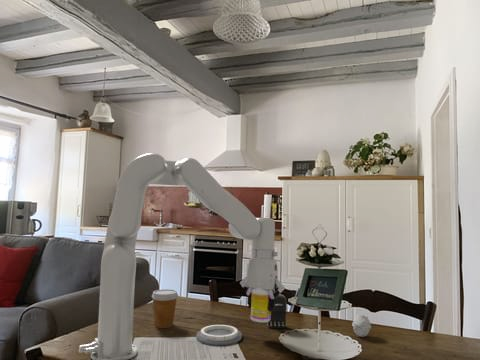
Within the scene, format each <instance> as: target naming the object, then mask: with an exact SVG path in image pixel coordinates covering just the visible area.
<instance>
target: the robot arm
mask: <svg viewBox="0 0 480 360" xmlns="http://www.w3.org/2000/svg"><path fill="white" fill-rule="evenodd" d="M149 185H161V186H175V187H177V186H179V187H180V186H181V187H182V186H184V187H186V188H187V190H188V191H189V192H191V194H193V196H194V197H195V198H197V200H198V201H199V202H200V203H201V204H202V205H203V206H204V207H205V208H207V209H208V210H209V211H211V212H213V213H215V214H216V215H219V216H220V217H222V218H223V219H224V220H225V221H227V223H229V224H228V232H229V233H230V235H231V236H233V237H234V238H236V239H240V240H245V241H251V257H250V258H249V259H248V264H247V265H248V266H247V270H246V271H247V272H246V276H245V277H244V278H243V279H242V280H241V281H240V282H239V284H240V285H241V287H242V289H243V291H244V292H245V293H246V295H247V302H246V303H247V308H248V309H251V298H252V289H253V288H259V287H260V288H261V289H264V290H268V292H269V295H270V299H269V311H270V312H271V311H273V310H274V308H275V298H276V297H277V296H278V295H281V293H282V292H283V291H284V290H286V288H285V286H284V284H282V282H281V281H280V280H279V271H278V262H277V259H276V258H275V257H278V256H279V253H278V252H277V251H275V232H276V231H275V230H276V229H275V228H276V222H275V220H274V219H273V218H271V217H256V216H255V215H254V214H253V213H252V212H251V210H250V209H249V208H247V206H245V204H243V202H241V201H240V200H239V199H237V198H236V196H234V195H232V194H231V193H230V192H229V191H228V190H226V189H225V188H224V187H223V185H221V184H220V183H219V182H218V180H216V179H215V178H214V176H213V175H211V173H210V172H209V171H208V170H207V169H206V168H205V167H204V166H203V165H202V164H201V163H200V161H198V160H197V159H195V158H193V157H186V158H184V159H182V160H167V159H165V158H164V157H163V156H162V155H160V154H159V153H155V152H150V153H149V152H148V153H145V154H142V155H139V156H138V157H135V158H134V159H132V160H131V161H130V162H129V163H128V164H127V165H126V166H125V167H124V169H123V170H122V172H121V173H120V177H119V179H118V182H117V185H116V191H115V196H114V199H113V205H112V210H111V213H110V215H109V218H108V222H107V224H108V225H107V228H106V229H107V230H106V234H105V239H104V245H103V251H102V255H101V261H100V281H99V282H100V285H99V286H100V287H99V305H98V307H99V308H98V323H97V325H98V326H97V327H98V328H97V337H95V338H94V341H91V342H90V343H88V344H87V343H84V344H80V345H78V352H79V353H85V354H86V355H87V354H90V358H91V360H129V359H132V358H133V357H135V356H136V355H137V354H138V346H136V345H135V344H133V335H134V334H133V332H134V309H135V308H134V306H135V287H136V285H135V283H136V271H137V255H136V252H135V251H136V245H137V237H138V233H139V230H140V229H141V225H142V214H143V208H144V202H145V198H146V192H147V189H148V188H149ZM259 283H260V284H261V285H258V284H259ZM275 289H277V290H275Z"/></svg>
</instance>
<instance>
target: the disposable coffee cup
mask: <svg viewBox="0 0 480 360" xmlns="http://www.w3.org/2000/svg"><path fill="white" fill-rule="evenodd" d="M178 296H179V294H178V291H177V290H175V289H171V288H169V289H168V288H167V289H157V290H154V291H153V292H152V295H151V299H152V305H153V306H152V307H153V317H154V326H155V328H158V329H168V328H171V327H173V325H174V319H175V313H176V312H175V311H176V306H177V300H178Z"/></svg>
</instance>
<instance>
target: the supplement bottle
mask: <svg viewBox="0 0 480 360" xmlns="http://www.w3.org/2000/svg"><path fill="white" fill-rule="evenodd" d="M258 285H261V284H260V283H259V284H258ZM269 299H270V295H269V292H268V290H264V289H261V288H260V287H259V288H253V289H252V298H251V308H250V320H251V321H252V322H255V323H268V322H269V321H270V319H271V312H270V311H269Z"/></svg>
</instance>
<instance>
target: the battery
mask: <svg viewBox="0 0 480 360" xmlns="http://www.w3.org/2000/svg"><path fill="white" fill-rule="evenodd" d="M287 309H288V308H287V298H286V296H285V295H283V294H279V295H278V296H277V297H276V298H275V308H274V310H273V311H271V319H270V321H269V322H267V327H268V328H269V329H286V327H287Z"/></svg>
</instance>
